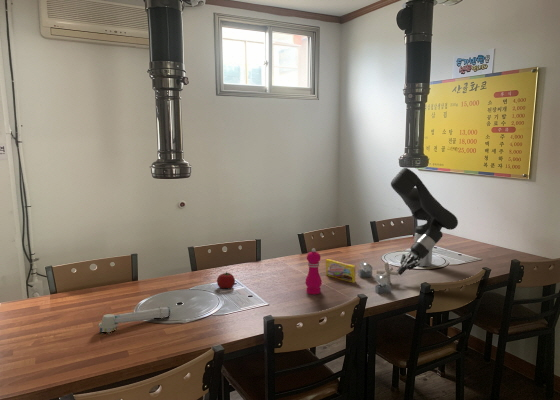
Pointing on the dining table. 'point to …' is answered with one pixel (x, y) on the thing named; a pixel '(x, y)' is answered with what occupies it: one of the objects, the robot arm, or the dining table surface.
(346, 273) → the candy box
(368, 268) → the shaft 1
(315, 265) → the pepper mill
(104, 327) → the toothbrush head
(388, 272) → the pipe connector
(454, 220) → the robot arm
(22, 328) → the dining table surface
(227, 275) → the tomato
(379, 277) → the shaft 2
